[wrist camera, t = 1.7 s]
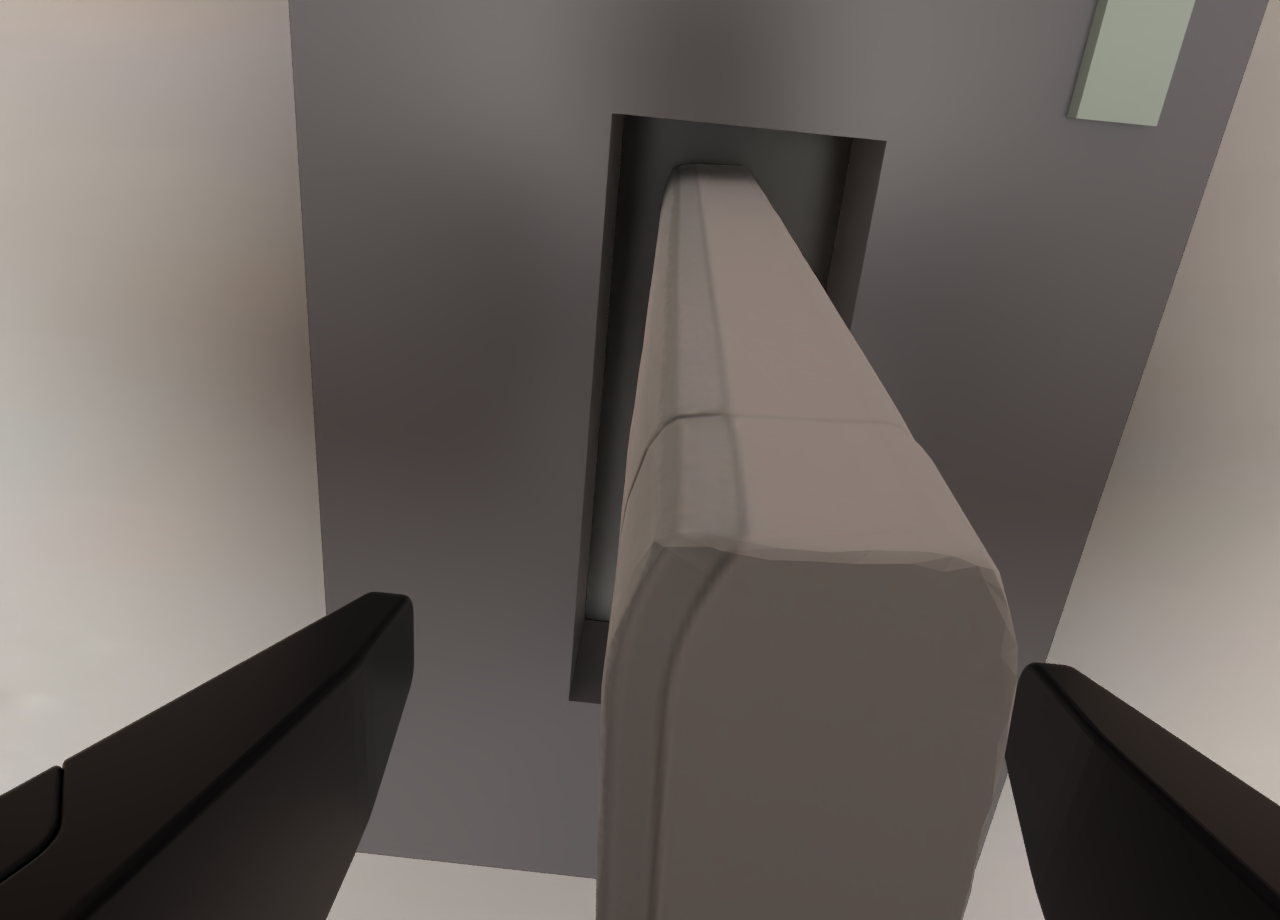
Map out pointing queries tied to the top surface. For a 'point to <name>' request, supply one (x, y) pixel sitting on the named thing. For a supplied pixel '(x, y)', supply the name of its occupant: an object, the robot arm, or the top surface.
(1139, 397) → the top surface
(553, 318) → the drive dock
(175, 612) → the top surface
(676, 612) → the hard drive
